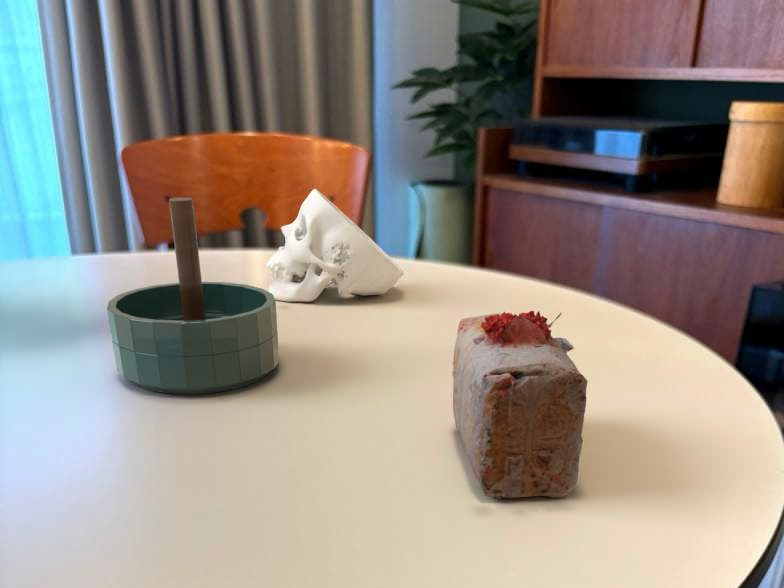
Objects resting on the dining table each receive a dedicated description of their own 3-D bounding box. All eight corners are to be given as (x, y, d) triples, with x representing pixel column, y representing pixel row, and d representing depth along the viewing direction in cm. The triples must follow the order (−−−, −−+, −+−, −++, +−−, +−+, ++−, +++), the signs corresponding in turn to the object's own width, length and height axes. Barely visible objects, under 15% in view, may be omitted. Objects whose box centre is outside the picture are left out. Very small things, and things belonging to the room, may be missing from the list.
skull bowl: (251, 272, 97) (303, 177, 93) (353, 333, 102) (407, 245, 98) (249, 293, 88) (306, 188, 84) (360, 359, 93) (420, 263, 89)
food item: (440, 420, 62) (446, 286, 57) (545, 417, 63) (558, 285, 58) (469, 503, 50) (479, 344, 45) (597, 500, 51) (620, 343, 46)
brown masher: (193, 377, 67) (173, 206, 61) (152, 362, 70) (128, 198, 64) (246, 361, 71) (232, 199, 64) (205, 347, 74) (188, 192, 68)
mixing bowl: (184, 411, 63) (174, 333, 60) (87, 372, 70) (74, 301, 67) (311, 369, 72) (308, 299, 69) (213, 338, 79) (206, 274, 76)
